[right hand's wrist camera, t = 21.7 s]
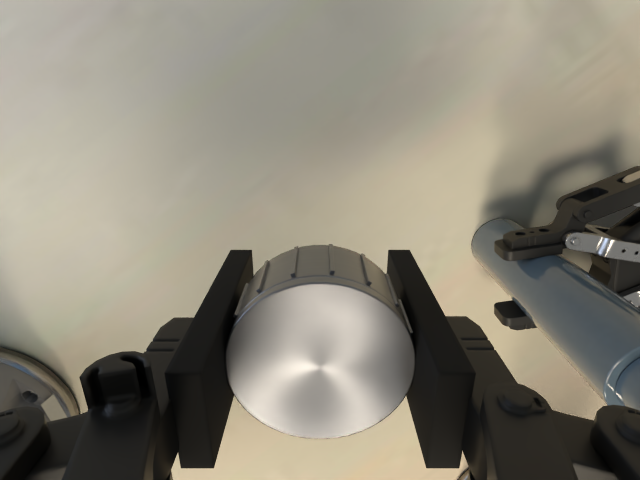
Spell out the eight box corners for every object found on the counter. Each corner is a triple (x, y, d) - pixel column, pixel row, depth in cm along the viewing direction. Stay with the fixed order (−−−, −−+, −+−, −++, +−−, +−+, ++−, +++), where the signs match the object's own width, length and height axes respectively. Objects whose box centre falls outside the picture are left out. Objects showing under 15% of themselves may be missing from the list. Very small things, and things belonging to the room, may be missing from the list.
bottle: (469, 223, 34) (644, 383, 16) (523, 213, 33) (765, 365, 15) (472, 270, 35) (634, 464, 17) (524, 261, 35) (743, 449, 17)
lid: (367, 396, 14) (376, 458, 11) (223, 359, 13) (203, 416, 11) (425, 271, 12) (450, 314, 10) (263, 221, 11) (250, 255, 9)
